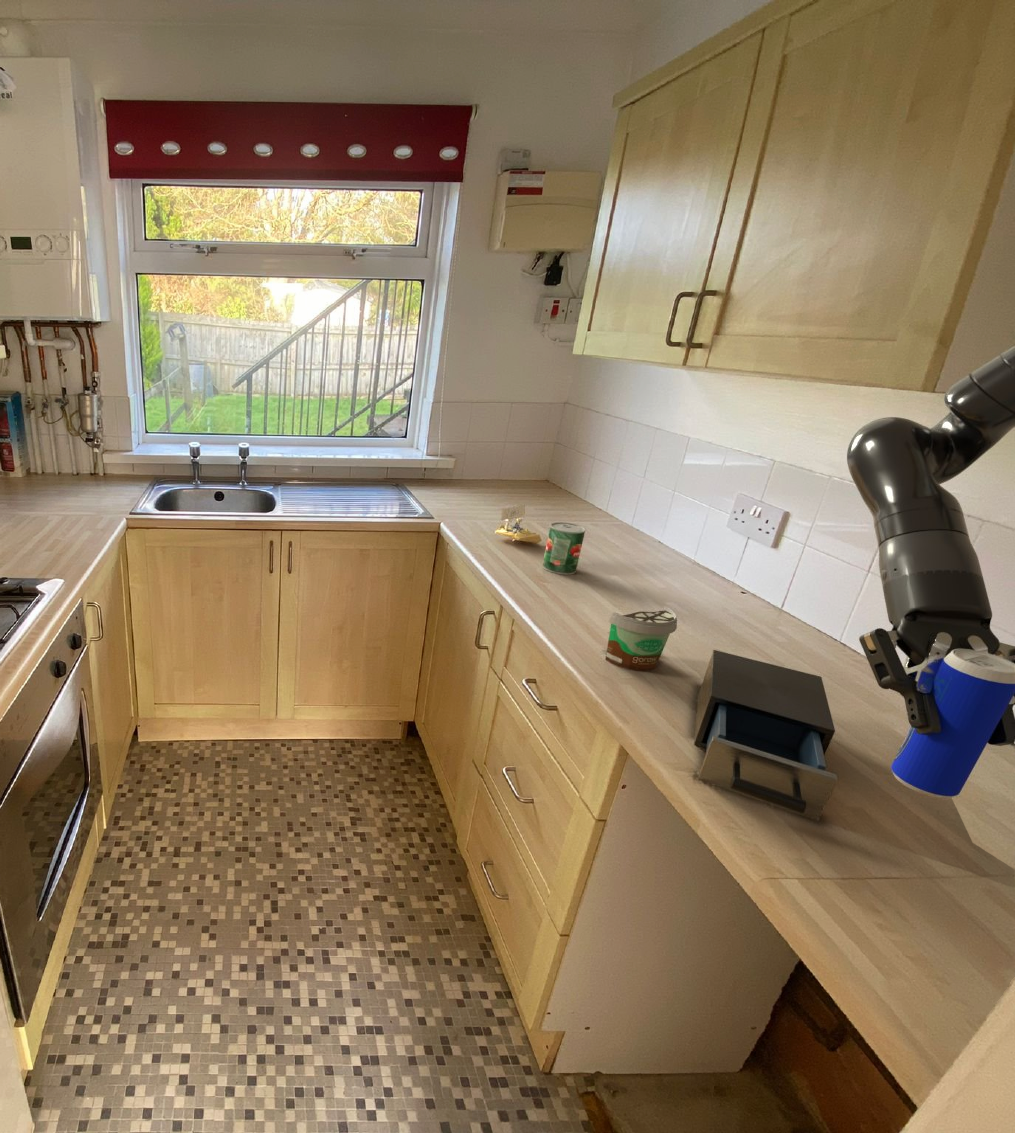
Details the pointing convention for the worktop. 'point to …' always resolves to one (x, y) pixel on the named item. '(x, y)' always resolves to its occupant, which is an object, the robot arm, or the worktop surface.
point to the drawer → (767, 761)
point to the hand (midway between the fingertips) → (965, 738)
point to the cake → (516, 525)
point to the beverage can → (957, 723)
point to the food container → (639, 638)
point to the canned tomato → (563, 548)
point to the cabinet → (763, 695)
